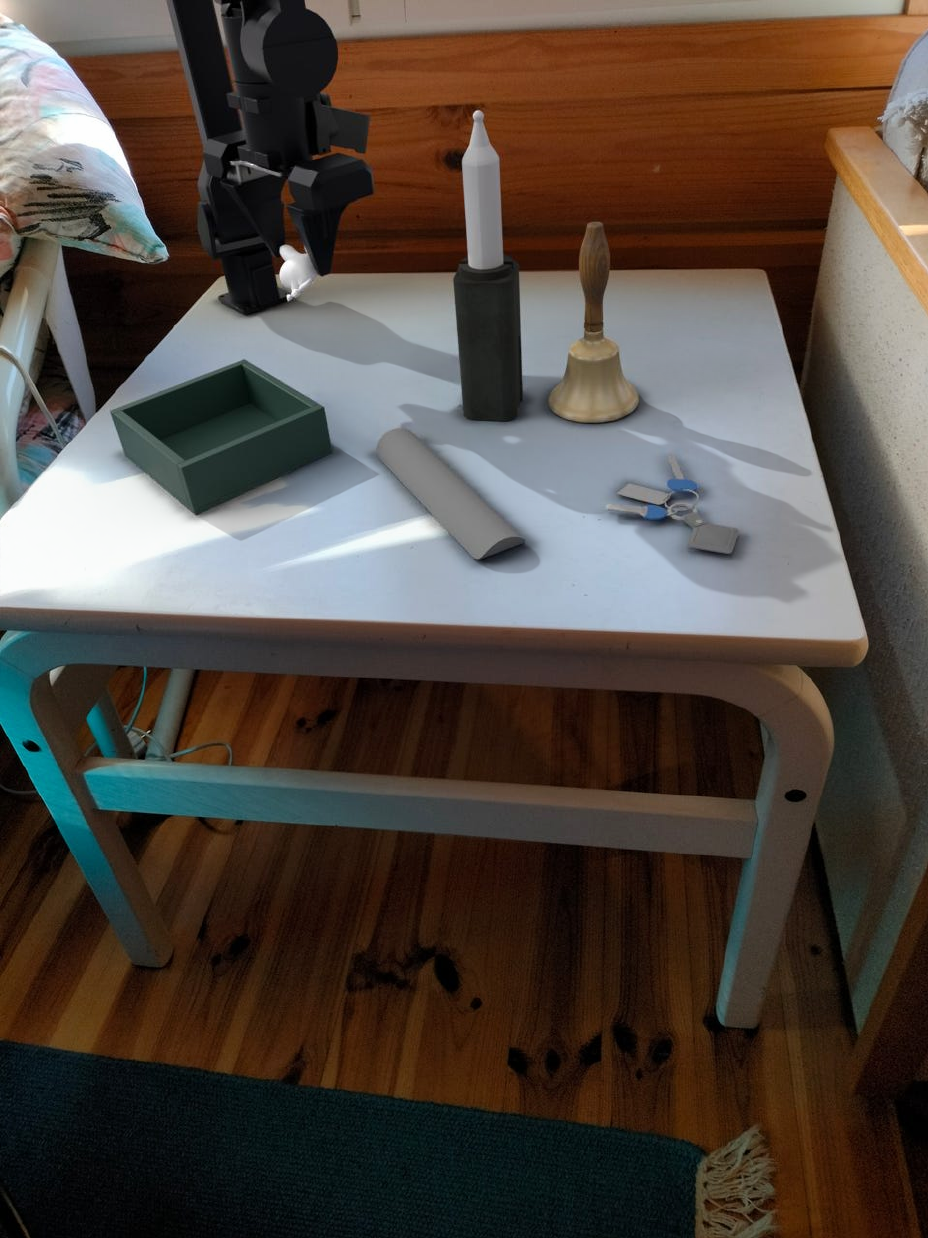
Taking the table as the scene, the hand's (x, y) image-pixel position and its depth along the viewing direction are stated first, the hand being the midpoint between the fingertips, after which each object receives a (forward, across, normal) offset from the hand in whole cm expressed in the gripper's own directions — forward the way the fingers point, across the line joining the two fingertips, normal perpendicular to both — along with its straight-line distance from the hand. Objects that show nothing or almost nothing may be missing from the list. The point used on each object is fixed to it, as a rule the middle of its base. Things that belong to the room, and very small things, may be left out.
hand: (302, 265), depth 89 cm
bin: (+11, -6, +14) cm, 19 cm away
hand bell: (+12, -24, -14) cm, 30 cm away
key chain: (+11, -40, -4) cm, 42 cm away
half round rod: (+12, -26, +6) cm, 29 cm away
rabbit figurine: (+2, 0, 0) cm, 2 cm away
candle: (+12, -18, -7) cm, 22 cm away
